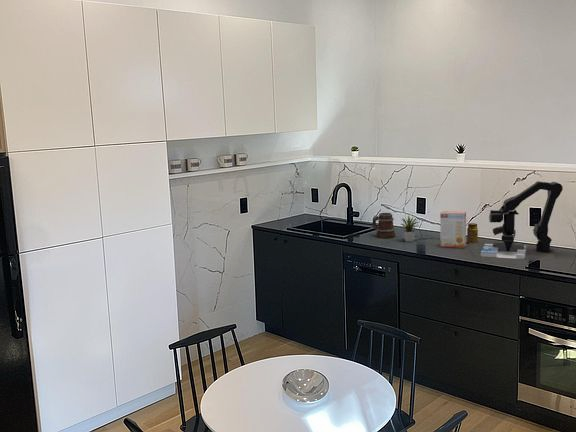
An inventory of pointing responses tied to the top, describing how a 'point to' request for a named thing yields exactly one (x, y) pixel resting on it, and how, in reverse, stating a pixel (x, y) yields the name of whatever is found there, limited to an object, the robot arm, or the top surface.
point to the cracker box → (453, 229)
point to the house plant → (409, 229)
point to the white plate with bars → (502, 252)
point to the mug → (384, 225)
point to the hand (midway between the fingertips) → (508, 249)
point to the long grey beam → (513, 248)
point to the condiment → (472, 233)
